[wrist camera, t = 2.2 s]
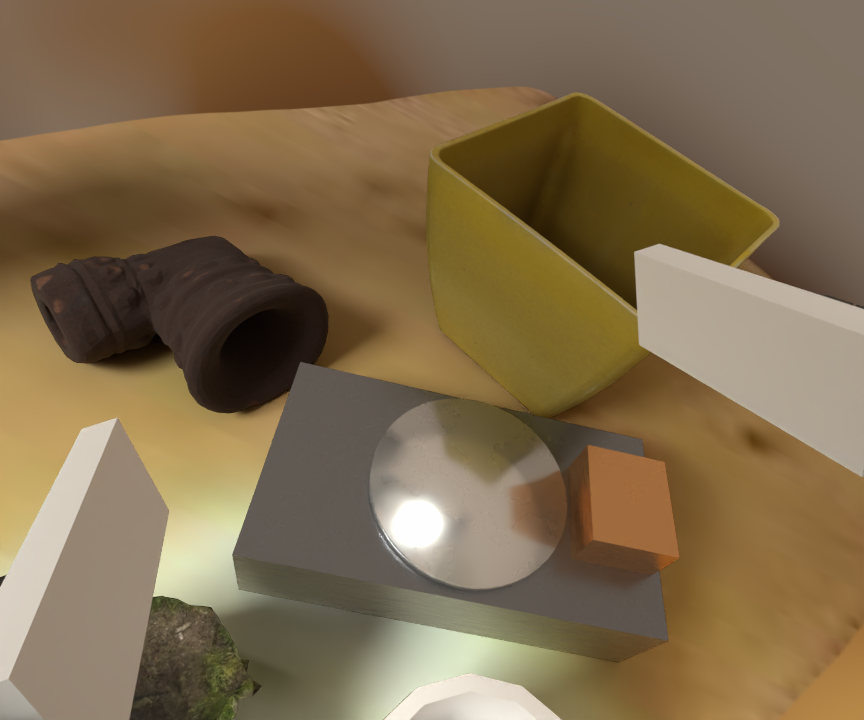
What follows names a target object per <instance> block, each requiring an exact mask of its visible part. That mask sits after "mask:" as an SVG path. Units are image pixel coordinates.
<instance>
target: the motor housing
mask: <svg viewBox="0 0 864 720" xmlns="http://www.w3.org/2000/svg"><path fill="white" fill-rule="evenodd" d="M232 556H233V561H234V567H235V572H236V577H237V583H238V588H239V590H244V591H250V592H255V593H260V594H265V595H270V596H276V597H281V598H286V599H291V600H296V601H302V602H307V603H312V604H317V605H322V606H328V607H333V608H338V609H343V610H349V611H354V612H359V613H364V614H369V615H375V616H380V617H385V618H390V619H395V620H401V621H406V622H411V623H416V624H421V625H427V626H432V627H437V628H442V629H447V630H453V631H458V632H463V633H468V634H474V635H479V636H484V637H489V638H494V639H500V640H505V641H510V642H515V643H520V644H526V645H531V646H536V647H541V648H546V649H552V650H557V651H562V652H567V653H572V654H578V655H583V656H588V657H593V658H599V659H604V660H609V661H614V662H620V661H623V660H625V659H627V658H630V657H632V656H634V655H637V654H639V653H641V652H644V651H646V650H648V649H650V648H653V647H655V646H657V645H660V644H662V643H664V642H667V641H668V633H667V626H666V618H665V610H664V603H663V595H662V588H661V580H660V572H659V571H660V570H661V569H663V568H664V567H666V566H668V565H669V564H671V563H672V562H674V561H676V560H677V559H679V558H680V557H679V550H678V544H677V538H676V531H675V525H674V518H673V512H672V505H671V499H670V493H669V486H668V480H667V473H666V467H665V462H663V461H658V460H654V459H649V458H645V457H644V450H643V442H642V439H638V438H633V437H629V436H624V435H620V434H616V433H611V432H607V431H602V430H598V429H594V428H589V427H585V426H580V425H576V424H572V423H567V422H563V421H558V420H554V419H550V418H545V417H541V416H536V415H532V414H528V413H523V412H519V411H514V410H510V409H506V408H501V407H497V406H492V405H490V404H486V403H483V402H479V401H474V400H468V399H461V398H457V397H453V396H448V395H444V394H439V393H435V392H431V391H426V390H422V389H417V388H413V387H409V386H404V385H400V384H395V383H391V382H387V381H382V380H378V379H373V378H369V377H365V376H360V375H356V374H351V373H347V372H343V371H338V370H334V369H329V368H325V367H321V366H316V365H312V364H307V363H303V362H300V364H299V367H298V370H297V373H296V376H295V378H294V381H293V384H292V387H291V390H290V393H289V396H288V398H287V401H286V404H285V407H284V410H283V413H282V415H281V418H280V421H279V424H278V427H277V430H276V432H275V435H274V438H273V441H272V444H271V447H270V449H269V452H268V455H267V458H266V461H265V464H264V466H263V469H262V472H261V475H260V478H259V481H258V484H257V486H256V489H255V492H254V495H253V498H252V501H251V503H250V506H249V509H248V512H247V515H246V518H245V520H244V523H243V526H242V529H241V532H240V535H239V537H238V540H237V543H236V546H235V549H234V552H233V554H232Z"/></svg>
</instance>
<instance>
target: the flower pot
mask: <svg viewBox="0 0 864 720" xmlns="http://www.w3.org/2000/svg"><path fill="white" fill-rule="evenodd" d="M779 226H780V223H779V219H778V218H777V217H776V216H775V214H773V213H772V212H771V211H769V210H768V209H766V208H764V207H763V206H761V205H759V204H758V203H756V202H754V201H753V200H752V199H750V198H749V197H747V196H746V195H744V194H742V193H741V192H739V191H738V190H736V189H735V188H733V187H732V186H730V185H728V184H727V183H725V182H724V181H722V180H721V179H719V178H717V177H716V176H715V175H713V174H711V173H710V172H708V171H706V170H705V169H704V168H702V167H700V166H699V165H697V164H696V163H694V162H693V161H691V160H689V159H688V158H686V157H685V156H683V155H682V154H680V153H679V152H677V151H676V150H674V149H672V148H671V147H670V146H668V145H667V144H665V143H663V142H662V141H660V140H659V139H657V138H656V137H654V136H653V135H651V134H649V133H648V132H646V131H645V130H643V129H641V128H640V127H638V126H637V125H635V124H634V123H632V122H631V121H629V120H628V119H626V118H625V117H623V116H621V115H620V114H618V113H617V112H615V111H613V110H612V109H610V108H609V107H607V106H606V105H604V104H603V103H601V102H599V101H598V100H596V99H595V98H593V97H591V96H589V95H586V94H582V93H572V94H570V95H567V96H565V97H562V98H559V99H557V100H555V101H552V102H549V103H547V104H544V105H542V106H539V107H537V108H534V109H532V110H529V111H527V112H524V113H522V114H519V115H516V116H514V117H511V118H508V119H506V120H503V121H500V122H498V123H495V124H493V125H490V126H487V127H485V128H482V129H479V130H477V131H474V132H471V133H469V134H466V135H463V136H461V137H459V138H456V139H453V140H450V141H447V142H445V143H442V144H440V145H437V146H435V147H434V148H433V149H432V150H431V152H430V159H429V169H428V185H427V252H428V265H429V274H430V282H431V289H432V295H433V300H434V305H435V311H436V316H437V319H438V323H439V327H440V329H441V331H442V332H443V333H444V334H445V335H446V336H447V337H449V338H450V339H451V340H452V341H453V342H454V343H455V344H456V345H457V346H459V347H460V348H461V349H462V350H463V351H464V352H465V353H466V354H467V355H469V356H470V357H471V358H472V359H473V360H474V361H475V362H476V363H478V364H479V365H480V366H481V367H482V368H483V369H484V370H485V371H486V372H488V373H489V374H490V375H491V376H492V377H493V378H494V379H495V380H496V381H498V382H499V383H500V384H501V385H502V386H503V387H504V388H505V389H506V390H508V391H509V392H510V393H511V394H512V395H513V396H514V397H515V398H516V399H518V400H519V401H520V402H521V403H522V404H523V405H524V406H525V407H526V408H527V409H529V410H530V411H531V412H532V413H533V414H534V415H536V416H541V417H545V418H551V417H553V416H556V415H558V414H561V413H563V412H565V411H567V410H569V409H571V408H573V407H575V406H577V405H579V404H580V403H582V402H584V401H586V400H587V399H589V398H591V397H592V396H594V395H596V394H597V393H599V392H600V391H602V390H603V389H605V388H606V387H608V386H609V385H611V384H612V383H614V382H615V381H616V380H618V379H619V378H620V377H622V376H623V375H624V374H626V373H627V372H628V371H630V370H631V369H632V368H633V367H635V366H636V365H637V364H638V363H640V362H641V361H642V360H643V359H644V358H646V357H647V356H648V355H649V354H651V353H652V352H650V351H649V350H647V349H645V348H643V347H642V346H640V345H639V334H638V315H637V296H636V277H635V259H634V252H635V251H639V250H642V249H645V248H648V247H651V246H654V245H657V244H662V245H665V246H668V247H671V248H674V249H678V250H681V251H684V252H687V253H690V254H693V255H696V256H699V257H703V258H706V259H709V260H712V261H715V262H718V263H721V264H724V265H728V266H731V267H734V268H738V267H739V266H740V265H741V264H742V263H743V262H744V261H745V260H746V259H747V258H748V257H749V256H750V255H751V254H752V253H753V252H754V251H755V250H756V249H757V248H758V247H759V246H760V245H761V244H762V243H763V242H764V241H765V240H766V239H767V238H768V237H769V236H770V235H771V234H772V233H773V232H774V231H775V230H776V229H777V228H778V227H779Z"/></svg>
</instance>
